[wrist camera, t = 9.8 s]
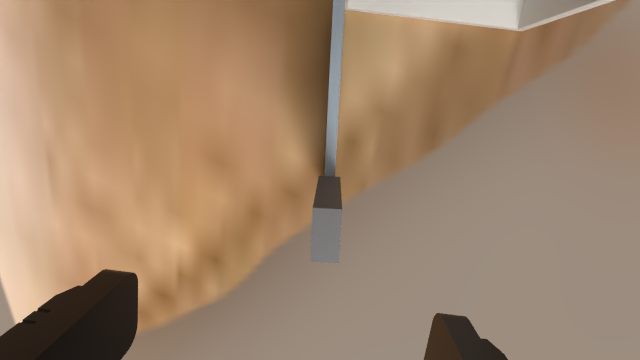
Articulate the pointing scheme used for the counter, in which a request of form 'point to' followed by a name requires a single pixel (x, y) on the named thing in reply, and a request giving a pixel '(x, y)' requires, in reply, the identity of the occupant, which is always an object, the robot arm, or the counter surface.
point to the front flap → (330, 159)
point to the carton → (478, 11)
